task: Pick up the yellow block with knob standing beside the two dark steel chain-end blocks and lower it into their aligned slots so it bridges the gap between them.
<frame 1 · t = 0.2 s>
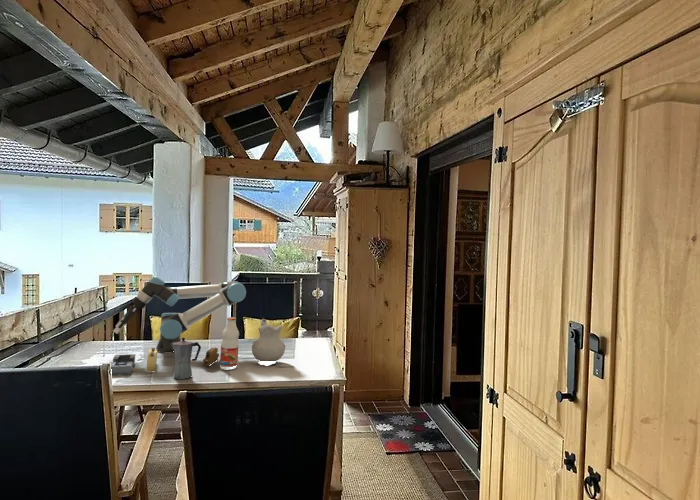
hand: (116, 329, 248), 15 cm above the table, tool tilted 35°, fingers open, 13 cm apart
end link b: (120, 372, 222), on the table
moka pot: (183, 377, 221), on the table
wooden carving: (210, 366, 244), on the table
fruit juice: (228, 368, 242), on the table
ceramic pitcher: (266, 363, 258), on the table
yellow block with knob: (151, 367, 233), on the table
end link a: (123, 365, 234), on the table
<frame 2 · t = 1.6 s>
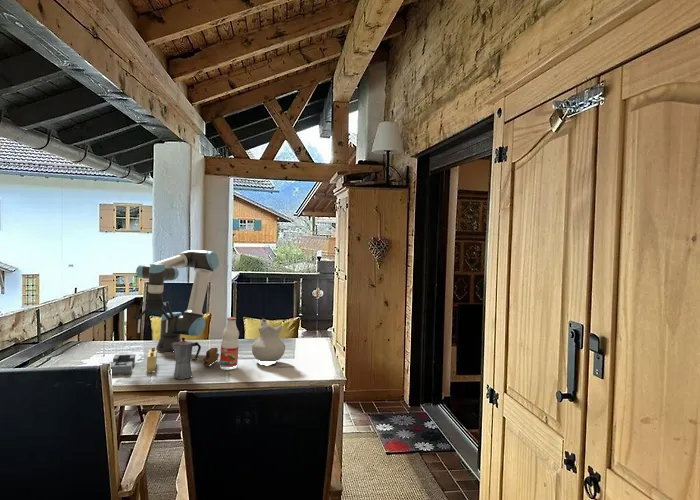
hand: (152, 332, 233), 19 cm above the table, tool pointing down, fingers open, 13 cm apart
nothing on the table moved.
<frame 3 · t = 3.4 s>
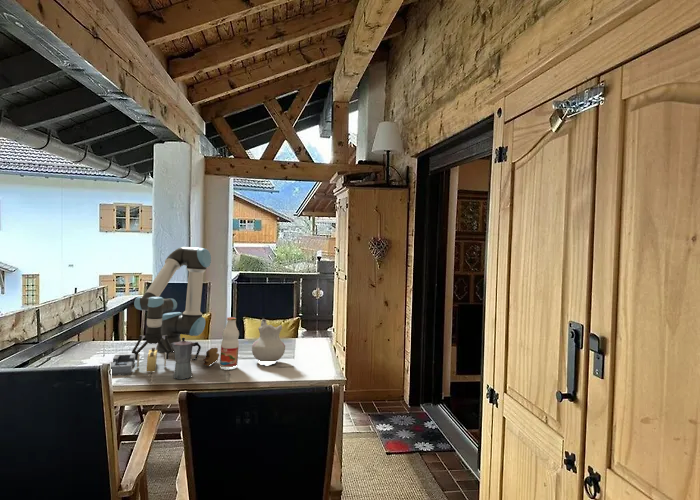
hand: (151, 366, 233), 1 cm above the table, tool pointing down, fingers open, 12 cm apart
nothing on the table moved.
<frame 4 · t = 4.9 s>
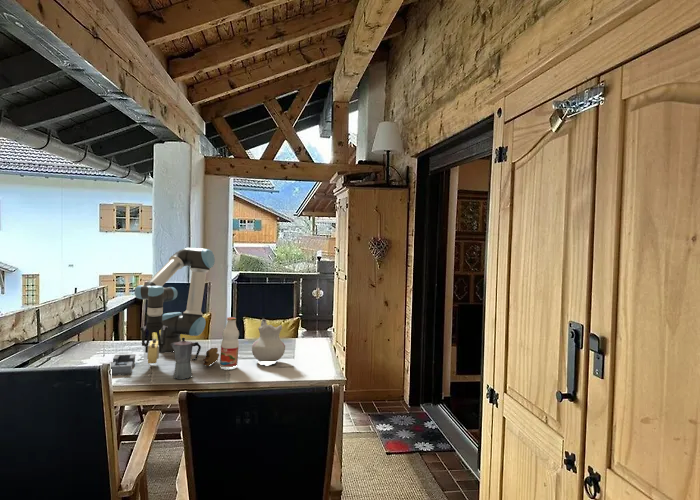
hand: (153, 358, 234), 5 cm above the table, tool pointing down, fingers closed on yellow block with knob, 4 cm apart
yellow block with knob: (153, 359, 234), point 4 cm above the table, touching gripper
everything else where it was.
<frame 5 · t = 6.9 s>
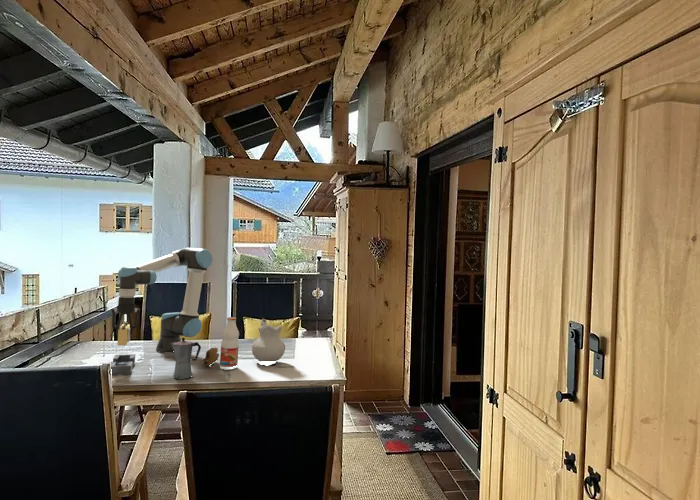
hand: (123, 341, 228), 15 cm above the table, tool pointing down, fingers closed on yellow block with knob, 4 cm apart
yellow block with knob: (123, 342, 228), point 14 cm above the table, touching gripper
everything else where it was.
when the fingers open (2 cm above the table, at t = 9.1 s): yellow block with knob stays where it is, resting on end link a, end link b.
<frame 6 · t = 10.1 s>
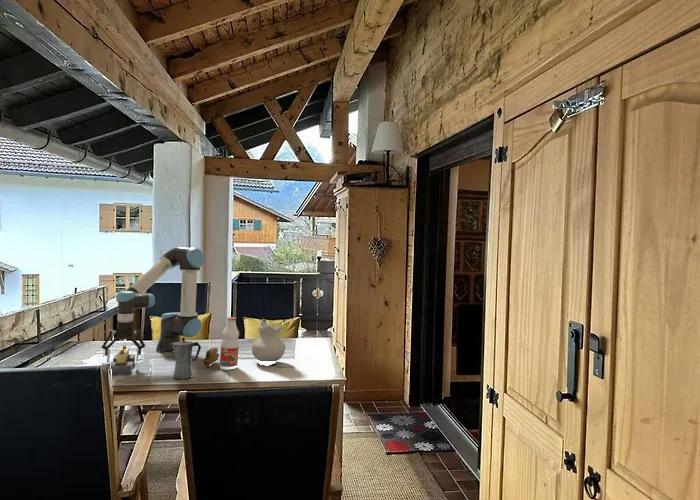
hand: (122, 361, 228), 4 cm above the table, tool pointing down, fingers open, 13 cm apart
yellow block with knob: (122, 365, 228), point 1 cm above the table, touching end link a, end link b
everything else where it was.
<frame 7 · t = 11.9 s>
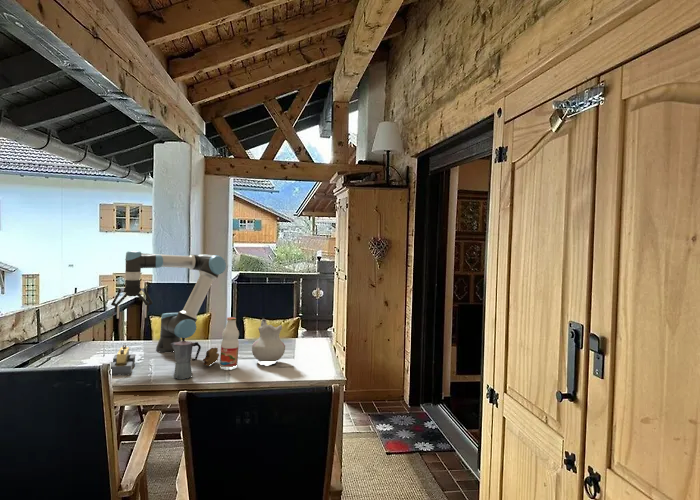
hand: (131, 317, 240), 25 cm above the table, tool pointing down, fingers open, 13 cm apart
nothing on the table moved.
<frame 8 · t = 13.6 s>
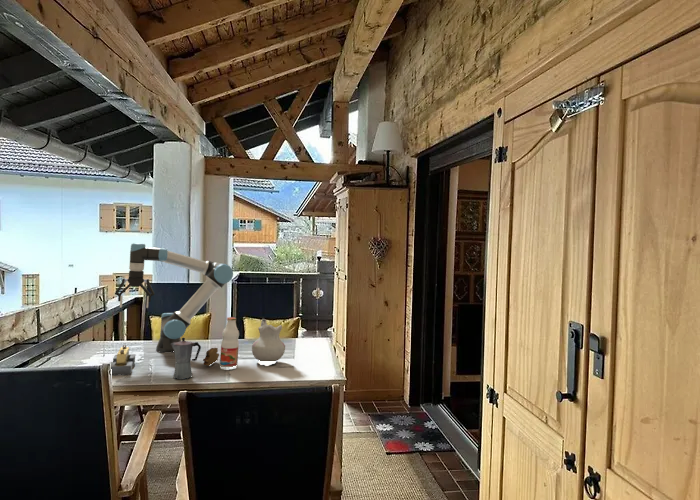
hand: (134, 307, 249), 29 cm above the table, tool pointing down, fingers open, 13 cm apart
nothing on the table moved.
at the end: yellow block with knob 0.2 cm from the target spot, point 1.5 cm above the table; yellow block with knob tilted 0°; the gripper is holding nothing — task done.
